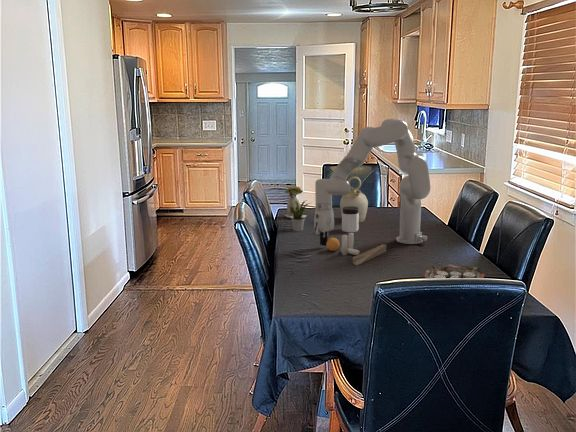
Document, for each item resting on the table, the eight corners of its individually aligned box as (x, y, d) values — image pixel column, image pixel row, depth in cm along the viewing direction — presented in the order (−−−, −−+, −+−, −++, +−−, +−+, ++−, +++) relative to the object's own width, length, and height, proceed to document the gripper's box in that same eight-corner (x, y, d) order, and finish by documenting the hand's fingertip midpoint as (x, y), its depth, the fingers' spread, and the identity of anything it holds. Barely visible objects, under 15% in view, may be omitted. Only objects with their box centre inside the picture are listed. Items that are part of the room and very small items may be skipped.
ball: (333, 234, 243) (332, 245, 245) (324, 237, 239) (322, 249, 241) (343, 239, 239) (341, 251, 241) (334, 242, 235) (332, 254, 237)
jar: (343, 232, 271) (343, 210, 268) (340, 228, 279) (340, 206, 276) (360, 231, 272) (361, 209, 270) (356, 228, 280) (356, 205, 277)
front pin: (343, 251, 240) (359, 254, 234) (340, 252, 238) (356, 256, 233) (343, 246, 239) (359, 249, 234) (340, 248, 237) (356, 251, 232)
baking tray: (425, 270, 214) (425, 257, 213) (481, 273, 208) (482, 260, 207) (423, 297, 186) (423, 282, 185) (488, 301, 180) (489, 286, 179)
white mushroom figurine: (293, 221, 298) (292, 188, 294) (280, 217, 308) (279, 185, 304) (309, 218, 305) (309, 186, 300) (296, 214, 315) (296, 183, 311)
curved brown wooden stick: (386, 251, 238) (386, 245, 237) (356, 265, 220) (357, 258, 219) (382, 250, 239) (382, 244, 238) (352, 264, 221) (352, 257, 221)
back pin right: (354, 251, 239) (354, 233, 237) (351, 252, 237) (351, 234, 235) (350, 250, 241) (350, 232, 239) (347, 251, 239) (347, 233, 237)
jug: (366, 223, 289) (367, 178, 283) (338, 223, 292) (338, 178, 286) (368, 217, 303) (369, 174, 298) (341, 216, 306) (341, 174, 301)
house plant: (314, 226, 285) (314, 196, 281) (313, 233, 272) (313, 202, 268) (288, 226, 286) (287, 196, 283) (285, 232, 273) (285, 201, 269)
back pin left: (348, 254, 235) (348, 235, 233) (345, 255, 233) (345, 236, 232) (343, 253, 237) (343, 234, 235) (340, 254, 235) (340, 236, 233)
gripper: (320, 210, 233) (320, 250, 237) (339, 204, 244) (339, 242, 248) (307, 207, 238) (307, 247, 242) (326, 202, 249) (326, 240, 253)
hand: (323, 244), depth 245 cm, fingers closed
